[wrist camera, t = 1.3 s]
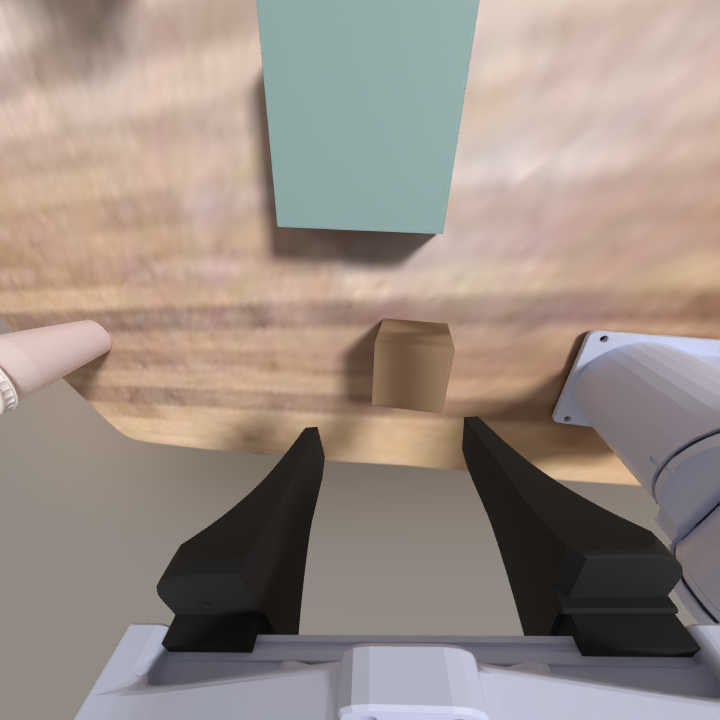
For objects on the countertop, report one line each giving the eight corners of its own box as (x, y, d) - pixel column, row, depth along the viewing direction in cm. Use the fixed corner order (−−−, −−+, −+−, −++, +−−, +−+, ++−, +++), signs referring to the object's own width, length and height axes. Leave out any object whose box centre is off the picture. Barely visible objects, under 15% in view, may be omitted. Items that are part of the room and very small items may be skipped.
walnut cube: (447, 323, 21) (454, 349, 17) (437, 378, 24) (441, 413, 19) (383, 318, 22) (374, 341, 18) (380, 371, 24) (371, 404, 20)
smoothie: (133, 346, 29) (-81, 439, 16) (106, 372, 31) (-96, 469, 19) (82, 294, 27) (-200, 355, 15) (58, 326, 29) (-200, 400, 17)
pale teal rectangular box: (470, 22, 14) (486, -43, 11) (438, 231, 19) (442, 234, 15) (291, 35, 16) (254, -18, 12) (302, 225, 20) (277, 226, 17)
